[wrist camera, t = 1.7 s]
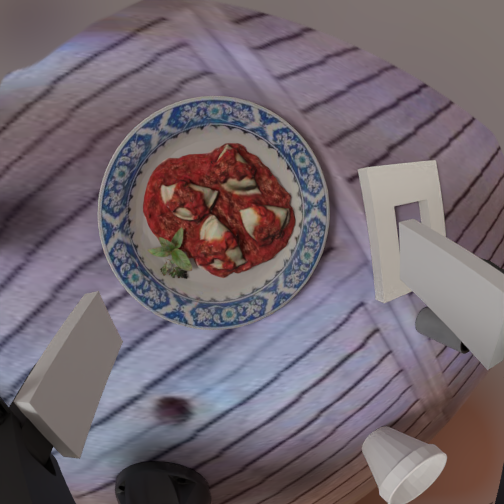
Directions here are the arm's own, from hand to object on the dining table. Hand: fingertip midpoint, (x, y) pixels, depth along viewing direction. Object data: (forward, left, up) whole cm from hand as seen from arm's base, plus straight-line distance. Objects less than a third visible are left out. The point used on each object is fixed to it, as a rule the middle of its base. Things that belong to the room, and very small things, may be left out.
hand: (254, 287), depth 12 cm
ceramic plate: (+3, -2, -23) cm, 23 cm away
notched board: (-4, -28, -22) cm, 36 cm away
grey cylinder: (-20, -31, -23) cm, 43 cm away
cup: (-42, -21, -23) cm, 52 cm away
